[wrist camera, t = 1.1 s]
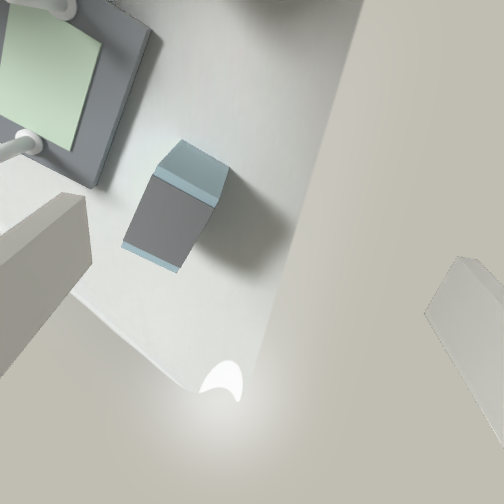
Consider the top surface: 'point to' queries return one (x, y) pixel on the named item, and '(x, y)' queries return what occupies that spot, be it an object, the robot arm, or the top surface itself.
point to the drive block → (176, 206)
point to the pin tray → (65, 81)
